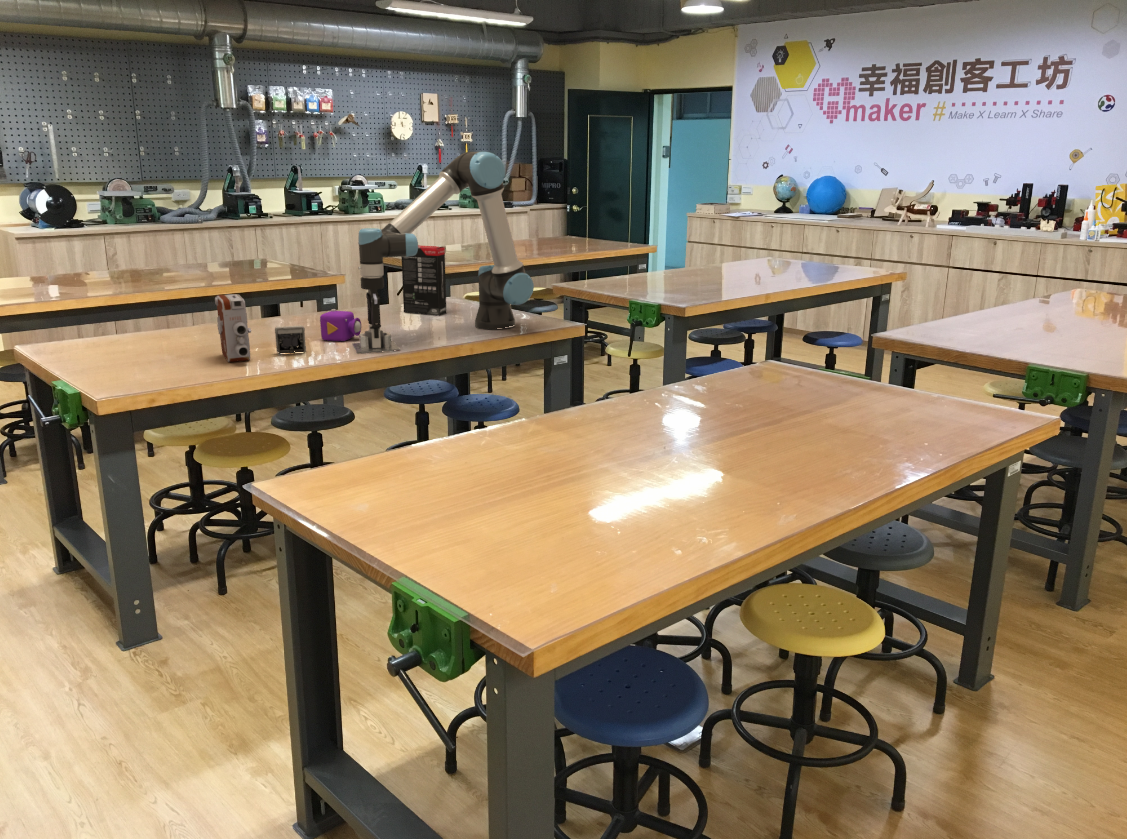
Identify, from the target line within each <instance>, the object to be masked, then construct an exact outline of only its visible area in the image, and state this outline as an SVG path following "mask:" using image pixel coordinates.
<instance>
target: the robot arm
mask: <svg viewBox="0 0 1127 839" xmlns="http://www.w3.org/2000/svg"><path fill="white" fill-rule="evenodd" d="M505 167H506V166H505V164H504V162H503V160H502V159H501V158H500V157H499V156H498V155H496V154H495V153H493V152H489V151H466V152H462V153H461V154H459V155H458V156H456V157H455V158H454V159H452V161H451V162H450V163H448V164H447V165H446V166H445V167H444V168H443V169H442V170H441V171H440V172H439V175H438V177H437V178H436V180H434V181H433V182H432V183H431V184H430V185H429V186H428V187H427V188H426V189H424V191H423V192H422V193H420V194H419V195H418V196H417V197H415V199H414V200H412V202H411V203H409V204H408V205H407V206H406V207H405V208H404V209H403V210H402V211H401V212H400V213H398V214H397V215H396V216H395V217H394V218H393V219H392V220H390V222H389V223H387V224H386V225H385V226H384V227H383V228H382V229H380V228H376V227H375V228H371V227H369V228H368V227H367V228H366V227H365V228H361V229H359V230H358V242H357V243H358V255H359V265H360V266H358V270H359V271H360V272H359V273H360V274H359V275H360V276H361V277H360V288H361V289H362V290H366V291H367V292H366V294H365V295H366V296H365V297H366V304H367V305H366V306H367V323H368V330H372V348H381V339H380V330H381V327H382V325H381V310H380V309H381V306H380V305H381V304H380V301H381V296H380V294H379V293H378V290H382V289H384V288H385V278H384V277H383V276H384V275H385V274H384V270H385V269H384V258H401V257H408V256H414V255H416V253H417V251H418V245H419V242H418V238H417V236H416V235H415V234H413V232H414V231H415V230H417V229H418V228H419V227H420V226H421V225H422V224H423V223H424V222H425V221H426V220H428V218H430V217H431V216H432V215H433V214H434V213H435V212H436V211H437V210H438V209H440V207H442V206H443V205H444V204H445V203H446V202H447V201H448V200H449V199H450V198H452V196H453V195H458V194H460V193H461V192H462V191H463V190H465V189H467V188H469V191H470V196H471V197H472V198H473V199H475V200H476V201H477V205H478V209H479V212H480V217H481V219H482V222H483V228H484V230H485V234H486V235H485V236H486V239H487V242H488V243H487V244H488V246H489V249H490V254H491V258H492V260H493V261H492V262H493V264H491V265H490V264H489V265H481V266H479V268H478V275H477V278H478V300H479V301H478V302H479V305H478V309H477V312H476V315H475V320H474V324H475V325H474V326H475V327H476V328H477V329H481V328H483V330H498V329H497V328H505V327H509V326H513V325H515V326H516V319H515V316H514V313H513V312H514V311H513V309H512V306H514V305H515V306H519V305H523V304H525V303H526V302H528V300H530V298H531V296H532V295H533V293H534V288H535V287H534V286H535V285H534V281H533V279H532V278H531V276H530V275H529V274H528V273H526V270H525V266H524V262H522V261H521V260H519V259H518V256H517V253H516V252H517V250H516V248H515V244H514V239H513V235H512V232H511V228H510V224H509V220H508V214H507V211H506V208H505V203H504V200H503V195H502V194H503V191H504V189H505V186H504V181H505V178H506V168H505ZM511 305H512V306H511Z"/></svg>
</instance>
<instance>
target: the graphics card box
mask: <svg viewBox="0 0 1127 839" xmlns="http://www.w3.org/2000/svg"><path fill="white" fill-rule="evenodd" d="M445 249H446V248H445V246H435V245H420V244H418V251H417V253H416V255H414V256H408V257H400V258H401V274H402V275H401V276H402V277H401V278H402V296H403V297H402V299H403V301H402V302H403V312H404V313H408V314H409V313H410V314H418V313H421V315H427V314H431V315H430V316H437V315H439V316H442V315H445V314H447V285H446V283H447V282H446V251H445Z"/></svg>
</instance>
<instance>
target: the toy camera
mask: <svg viewBox="0 0 1127 839" xmlns="http://www.w3.org/2000/svg"><path fill="white" fill-rule="evenodd" d="M354 314H355V313H353V312H352V311H348V310H347V311H346V310H337V309H335V308H333V309H331V310H330V311H326V312H324V313H323V314H321V315H320V316H319V323H320V325H319V327H320V335H321V339H322V340H323V341H326V340H327V341H330V342H346V341H348V340H350V339H352V338H354V337H355V336H356V337H359V335H360V334H361V332H362V322H361V321H362V320H361V319H360V317H355V315H354ZM327 341H326V342H327Z"/></svg>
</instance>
